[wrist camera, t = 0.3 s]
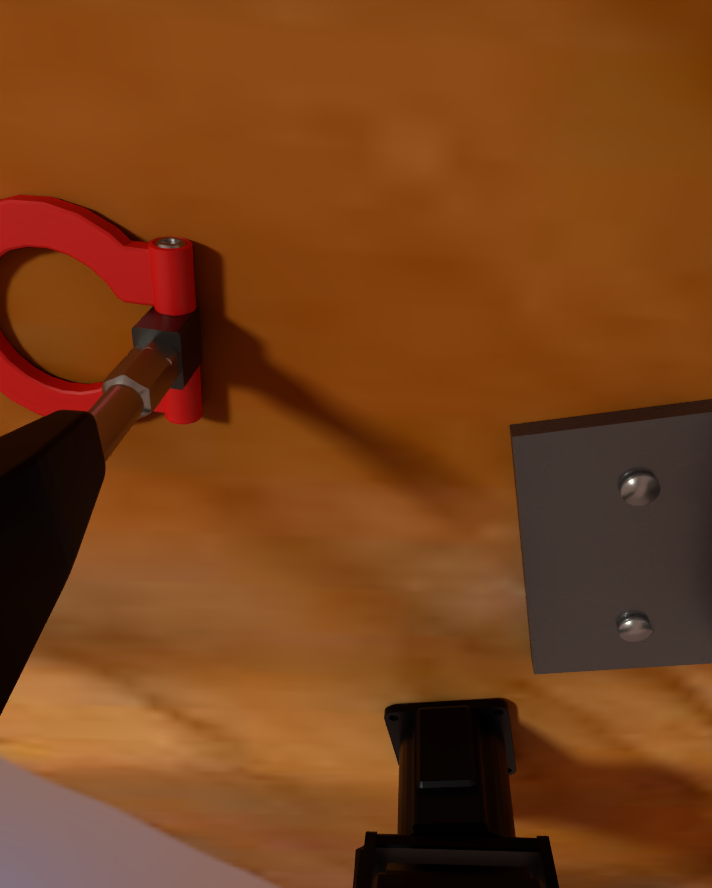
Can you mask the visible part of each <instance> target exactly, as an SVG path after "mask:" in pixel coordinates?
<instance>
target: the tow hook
mask: <svg viewBox="0 0 712 888" xmlns="http://www.w3.org/2000/svg"><path fill="white" fill-rule="evenodd" d="M23 247H39V248H49V249H52V250H55V251H58V252H61V253H64V254H67V255H70V256H71V257H73V258H75V259H76V260H78V261H80V262H81V263H83V264H85V265H86V266H88V267H90V268H91V269H92V270H93V271H94V272H95V273H96V274H97V275H98V276H100V277H101V278H102V279H103V280H104V281H105V282H106V283H107V284H108V285H109V287H110V288H111V289H112V291H113V292H114V294H115V295H116V296H117V298H119V299H121V300H122V301H124V302H128V303H136V304H143V305H151V306H153V307H152V308H151V309H150V310H149V311H148V312H147V313H146V314H145V315H144V316H143V317H142V318H141V320H140V321H139V322H138V323H137V324H136V325H135V326H134V327H133V328H132V337H133V345H134V348H133V349H132V350H131V351H130V352H129V353H128V355H127V356H126V357H125V358H124V359H123V360H122V361H121V362H120V363H119V364H118V365H117V366H116V367H115V369H114V370H113V371H112V372H111V373H110V374H109V375H108V376H107V377H106V379H105V380H104V381H103V382H99V383H93V384H81V383H70V382H67V381H64V380H61V379H58V378H55V377H52V376H50V375H48V374H46V373H45V372H43V371H41V370H39V369H37V368H36V367H34V366H33V365H32V364H30V363H29V362H28V361H27V360H25V359H24V358H23V357H22V356H21V355H19V354H18V353H17V352H16V350H15V349H14V348H13V347H12V346H11V344H10V343H9V342H8V341H7V340H6V338H5V337H4V335H3V333H2V332H1V330H0V392H2V393H3V394H4V395H6V396H7V397H8V398H9V399H11V400H12V401H14V402H16V403H18V404H20V405H22V406H24V407H25V408H27V409H29V410H31V411H33V412H35V413H37V414H39V415H42V416H46V415H49V414H51V413H53V412H55V411H58V410H63V409H64V410H77V411H88V412H90V413H91V414H92V415H93V416H94V418H95V420H96V423H97V427H98V431H99V436H100V440H101V445H102V449H103V454H104V458H105V462H106V461H107V459H108V458H109V457H110V455H111V454H112V453H113V451H114V450H115V448H116V447H117V446H118V444H119V443H120V442H121V440H122V439H123V438H124V436H125V435H126V434H127V432H128V431H129V430H130V428H131V427H132V426H133V424H134V423H135V421H136V420H137V419H140V418H142V417H145V416H147V415H149V414H151V413H152V412H160V413H165V417H166V419H167V420H168V421H170V422H172V423H175V424H190V423H193V422H196V421H198V420H199V419H200V418H201V417H202V415H203V410H202V393H201V377H200V364H201V362H202V346H201V329H200V312H199V308H198V306H197V305H196V294H195V278H194V261H193V245H192V242H191V241H190V240H188V239H185V238H180V237H160V238H155V239H152V240H151V241H149V243H148V242H139V241H131V240H130V239H129V238H128V237H127V236H126V235H125V234H124V233H123V232H122V231H121V230H120V229H118V228H117V227H116V226H114V225H112V224H111V223H109V222H108V221H106V220H104V219H103V218H101V217H99V216H98V215H96V214H95V213H93V212H91V211H90V210H88V209H86V208H84V207H81V206H78V205H75V204H72V203H69V202H66V201H63V200H60V199H57V198H54V197H45V196H31V195H17V196H13V197H8V198H4V199H0V258H1V257H2V256H3V255H4V254H5V253H6V252H8V251H9V250H14V249H18V248H23Z"/></svg>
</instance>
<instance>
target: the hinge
mask: <svg viewBox="0 0 712 888" xmlns="http://www.w3.org/2000/svg"><path fill="white" fill-rule="evenodd" d="M510 435H511V445H512V456H513V466H514V477H515V487H516V498H517V509H518V519H519V530H520V540H521V551H522V561H523V572H524V583H525V593H526V604H527V614H528V625H529V635H530V646H531V657H532V664H533V670H534V674H546V673H562V672H579V671H595V670H611V669H627V668H643V667H659V666H675V665H691V664H707V663H712V399H709V400H701V401H693V402H685V403H678V404H670V405H662V406H654V407H646V408H639V409H631V410H623V411H615V412H607V413H600V414H592V415H584V416H576V417H568V418H561V419H553V420H545V421H537V422H529V423H522V424H514V425H510Z"/></svg>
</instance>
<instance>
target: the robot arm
mask: <svg viewBox="0 0 712 888" xmlns="http://www.w3.org/2000/svg"><path fill="white" fill-rule="evenodd" d="M105 468H106V467H105V458H104V454H103V449H102V445H101V440H100V436H99V431H98V427H97V423H96V420H95V418H94V416H93V415H92V414H91V413H90V412H88V411H77V410H64V409H63V410H58V411H55V412H53V413H51V414H49V415H46V416H44V417H42V418H40V419H38V420H36V421H33V422H31V423H29V424H27V425H25V426H23V427H20V428H18V429H16V430H14V431H12V432H10V433H7V434H5V435H3V436H1V437H0V715H1V713H2V711H3V709H4V707H5V705H6V703H7V701H8V699H9V697H10V695H11V693H12V691H13V689H14V687H15V685H16V683H17V681H18V679H19V677H20V675H21V673H22V671H23V669H24V667H25V665H26V663H27V661H28V659H29V657H30V654H31V652H32V650H33V648H34V646H35V644H36V642H37V640H38V638H39V636H40V634H41V632H42V630H43V628H44V626H45V624H46V622H47V620H48V618H49V616H50V614H51V612H52V610H53V608H54V606H55V604H56V602H57V600H58V598H59V596H60V594H61V592H62V590H63V588H64V585H65V583H66V581H67V579H68V577H69V575H70V572H71V570H72V567H73V565H74V562H75V559H76V557H77V554H78V551H79V548H80V545H81V543H82V540H83V537H84V534H85V531H86V528H87V526H88V523H89V520H90V517H91V514H92V511H93V509H94V506H95V503H96V500H97V497H98V494H99V492H100V489H101V486H102V483H103V480H104V476H105ZM384 719H385V722H386V726H387V729H388V732H389V735H390V738H391V742H392V745H393V748H394V751H395V755H396V758H397V761H398V764H399V792H398V834H377V832H371V831H366V835H365V844H364V846H362V847H360V848H358V849H356V855H355V869H354V881H353V888H559V885H558V880H557V875H556V870H555V865H554V860H553V855H552V851H551V846H550V841H549V837H548V836H537V838H520V837H516V835H515V827H514V818H513V809H512V800H511V791H510V783H509V775H512V774H514V773H515V772H516V764H515V757H514V749H513V742H512V734H511V727H510V719H509V712H508V705H507V703H506V702H505V701H502V700H486V701H468V702H450V703H432V704H414V705H396V706H389V707H387V708H386V709H385V714H384Z"/></svg>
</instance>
